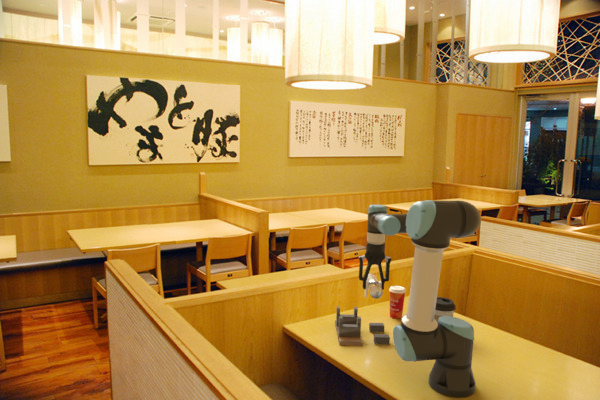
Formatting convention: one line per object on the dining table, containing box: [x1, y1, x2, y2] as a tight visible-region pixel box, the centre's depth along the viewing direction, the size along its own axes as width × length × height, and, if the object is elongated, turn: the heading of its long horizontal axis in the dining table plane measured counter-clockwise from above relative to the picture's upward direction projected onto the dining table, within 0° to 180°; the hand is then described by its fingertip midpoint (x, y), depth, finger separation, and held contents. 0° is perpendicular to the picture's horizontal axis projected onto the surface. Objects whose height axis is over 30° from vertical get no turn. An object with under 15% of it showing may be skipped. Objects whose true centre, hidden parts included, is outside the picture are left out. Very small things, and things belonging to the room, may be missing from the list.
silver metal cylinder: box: [367, 273, 384, 300], centre depth 199 cm, size 18×5×5 cm, turn 179°
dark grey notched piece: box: [334, 306, 363, 346], centre depth 203 cm, size 22×9×10 cm, turn 1°
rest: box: [368, 322, 391, 345], centre depth 201 cm, size 15×6×3 cm, turn 1°
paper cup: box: [388, 285, 407, 320], centre depth 224 cm, size 8×8×14 cm
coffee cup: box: [434, 296, 457, 323], centre depth 205 cm, size 11×11×15 cm
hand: (372, 296), depth 200 cm, fingers closed on silver metal cylinder, 5 cm apart
